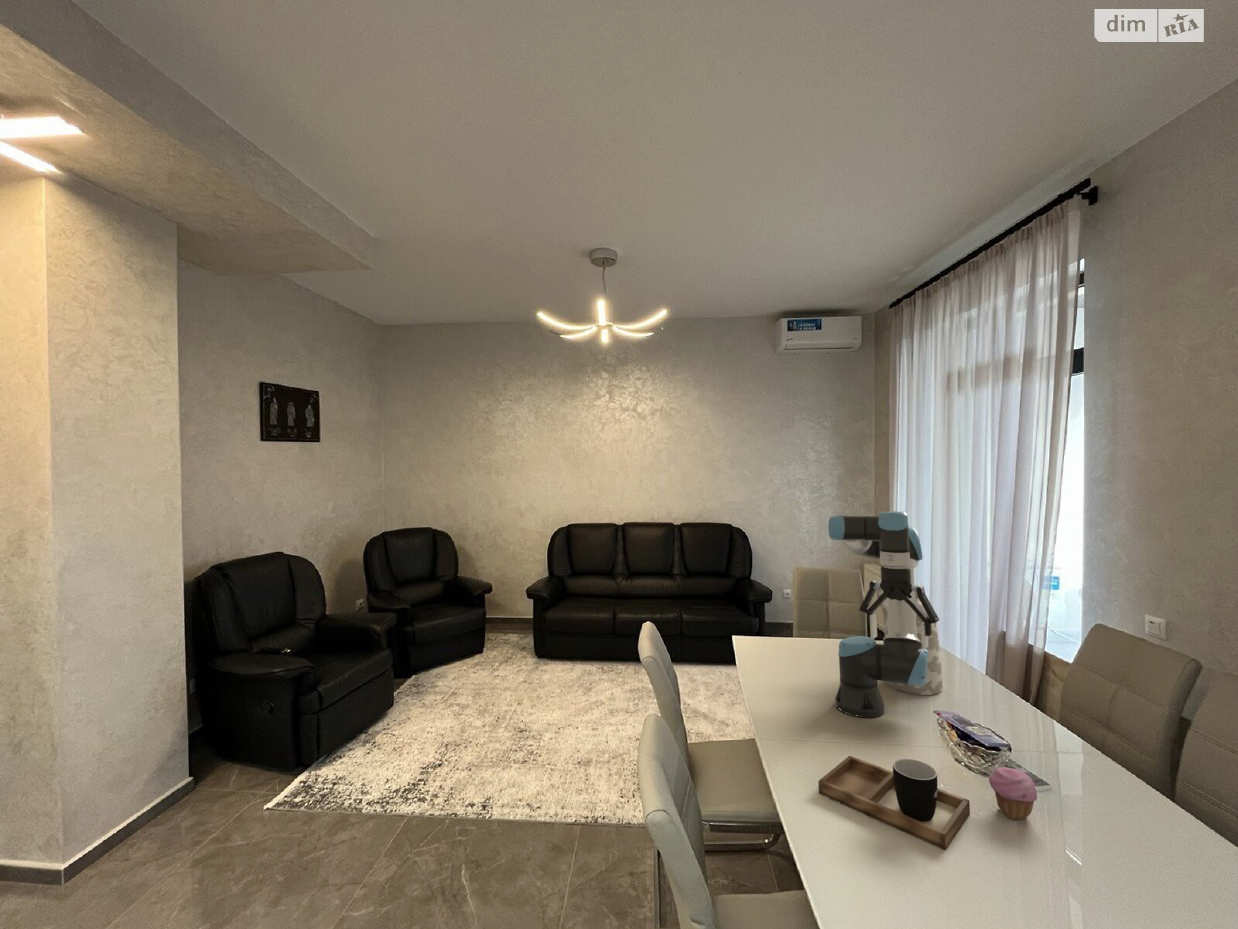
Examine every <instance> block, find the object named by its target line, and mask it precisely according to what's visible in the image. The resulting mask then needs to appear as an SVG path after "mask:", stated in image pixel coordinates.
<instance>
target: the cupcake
mask: <svg viewBox="0 0 1238 929" xmlns="http://www.w3.org/2000/svg"><path fill="white" fill-rule="evenodd" d="M988 781H989V784H990V788H992V789H993V791H994V795H995V798H996V804H997V806H998V808H999V810H1000V811H1001V812H1002V813H1004V814H1005V815H1006V816H1007V817H1008V818H1009V819H1010V820H1012V821H1013V820H1014V821H1018V820H1022V819H1026V818H1028V817H1029V816H1030V815H1031V813H1032V812H1033V807H1034V802H1035V801H1036V800H1038V793H1037V788H1036V785H1035V782H1034V781H1033V780H1032V778H1031V777H1030V776H1029V775H1028V773H1025V772H1024V771H1021V770H1019V769H1014V768H1011V767H1004V766H1000V767H997V768H995V769H994V770H993V771H992V772H990V774H989V777H988Z"/></svg>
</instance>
